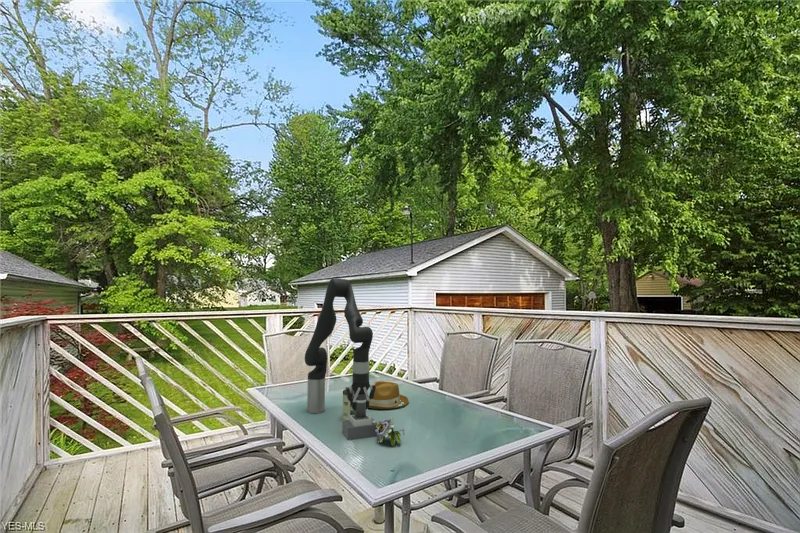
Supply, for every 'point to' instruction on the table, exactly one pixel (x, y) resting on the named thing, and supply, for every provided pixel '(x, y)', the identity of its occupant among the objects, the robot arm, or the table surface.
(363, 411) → the lens
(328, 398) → the table surface
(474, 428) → the table surface
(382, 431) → the passion flower
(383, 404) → the fedora
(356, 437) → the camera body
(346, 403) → the coffee can
